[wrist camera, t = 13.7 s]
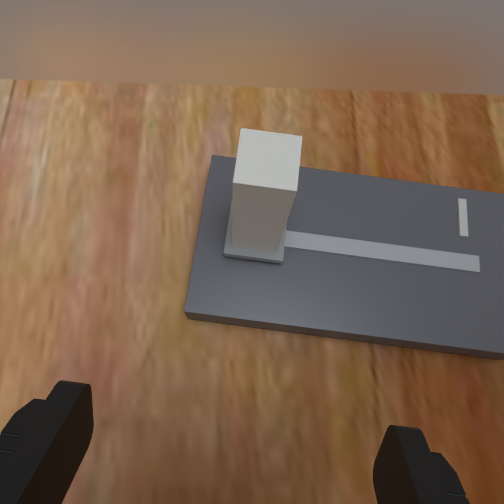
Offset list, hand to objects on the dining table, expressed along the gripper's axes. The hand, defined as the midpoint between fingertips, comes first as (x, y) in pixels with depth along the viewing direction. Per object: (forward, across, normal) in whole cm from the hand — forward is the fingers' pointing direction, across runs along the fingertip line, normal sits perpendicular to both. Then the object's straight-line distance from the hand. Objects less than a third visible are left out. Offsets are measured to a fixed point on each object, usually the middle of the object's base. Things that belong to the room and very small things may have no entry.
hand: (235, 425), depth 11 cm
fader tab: (+18, 0, +2) cm, 18 cm away
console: (+21, -8, +5) cm, 23 cm away
